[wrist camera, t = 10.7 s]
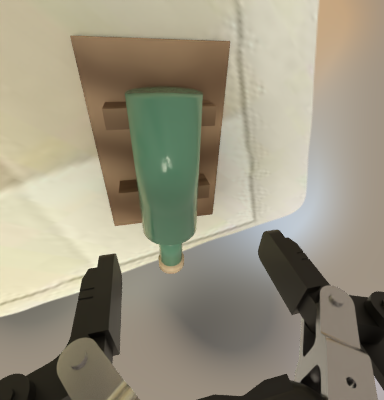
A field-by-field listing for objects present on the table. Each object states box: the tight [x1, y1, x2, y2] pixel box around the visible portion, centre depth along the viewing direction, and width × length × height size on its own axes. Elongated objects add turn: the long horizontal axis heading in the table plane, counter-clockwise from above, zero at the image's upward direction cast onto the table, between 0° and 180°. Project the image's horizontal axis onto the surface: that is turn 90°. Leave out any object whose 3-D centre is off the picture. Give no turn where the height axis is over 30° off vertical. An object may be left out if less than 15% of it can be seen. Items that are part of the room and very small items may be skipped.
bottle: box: [125, 87, 203, 274], centre depth 20 cm, size 18×5×5 cm, turn 179°
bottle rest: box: [70, 36, 230, 226], centre depth 21 cm, size 18×12×4 cm, turn 179°
